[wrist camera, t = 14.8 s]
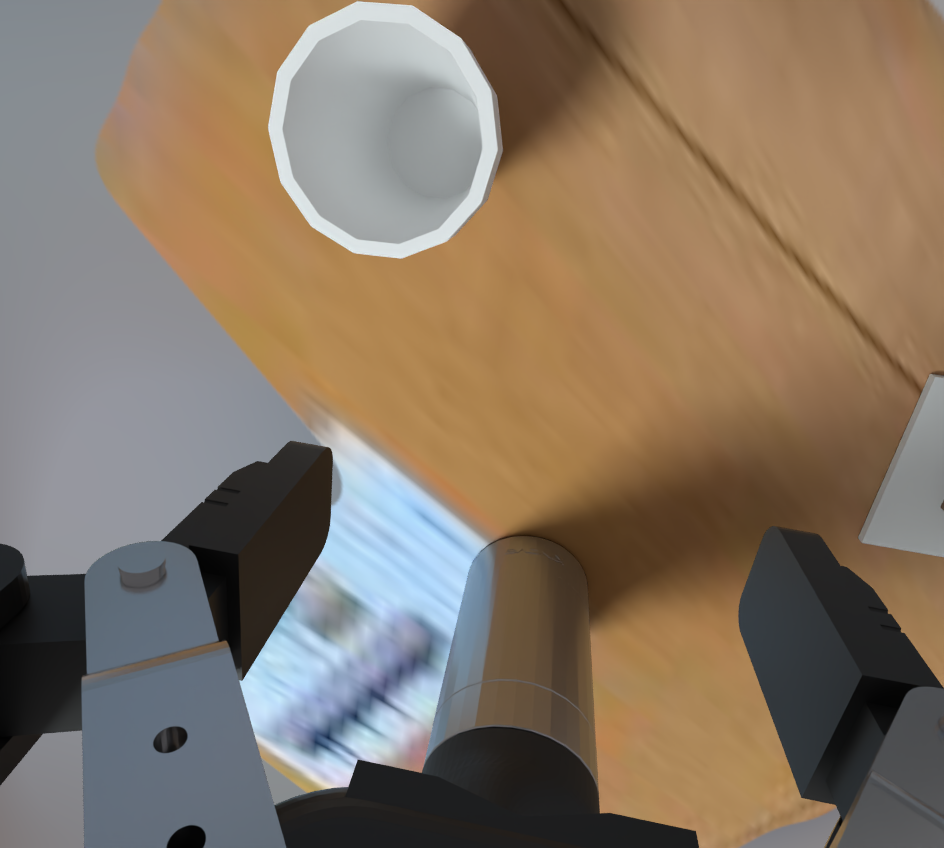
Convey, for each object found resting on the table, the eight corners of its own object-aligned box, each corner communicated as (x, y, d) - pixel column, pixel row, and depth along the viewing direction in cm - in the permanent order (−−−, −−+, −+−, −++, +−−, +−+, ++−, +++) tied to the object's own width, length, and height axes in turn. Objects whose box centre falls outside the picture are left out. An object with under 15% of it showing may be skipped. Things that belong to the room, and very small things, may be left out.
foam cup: (529, 62, 35) (510, 13, 23) (510, 234, 39) (486, 268, 27) (362, 48, 36) (263, -6, 24) (359, 218, 40) (272, 243, 28)
